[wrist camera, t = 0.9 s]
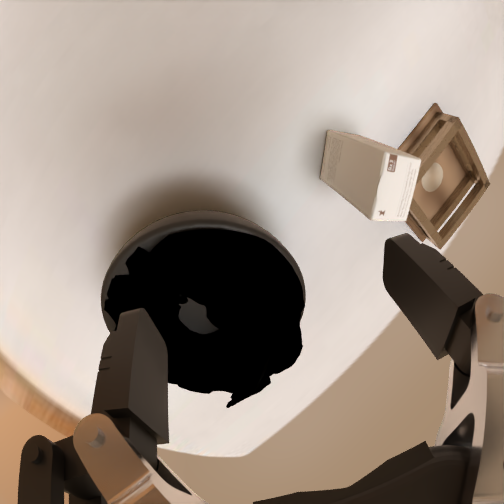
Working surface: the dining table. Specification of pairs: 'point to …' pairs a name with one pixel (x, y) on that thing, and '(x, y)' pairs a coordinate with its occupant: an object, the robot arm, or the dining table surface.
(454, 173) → the walnut board
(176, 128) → the dining table surface
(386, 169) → the skincare box
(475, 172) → the shallow wooden tray
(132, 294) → the bowl of black rocks
